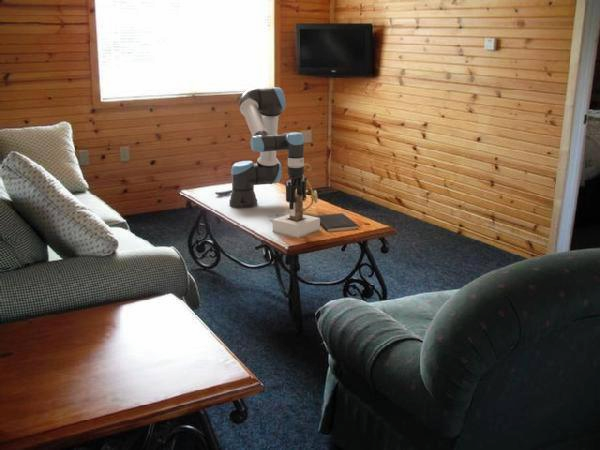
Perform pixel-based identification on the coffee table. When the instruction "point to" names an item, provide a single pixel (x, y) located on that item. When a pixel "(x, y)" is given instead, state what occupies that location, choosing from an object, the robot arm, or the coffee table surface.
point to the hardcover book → (336, 222)
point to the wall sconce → (314, 195)
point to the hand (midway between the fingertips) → (296, 214)
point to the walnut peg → (298, 208)
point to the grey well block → (296, 226)
